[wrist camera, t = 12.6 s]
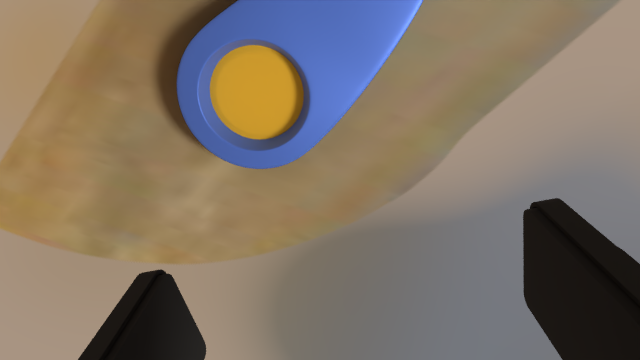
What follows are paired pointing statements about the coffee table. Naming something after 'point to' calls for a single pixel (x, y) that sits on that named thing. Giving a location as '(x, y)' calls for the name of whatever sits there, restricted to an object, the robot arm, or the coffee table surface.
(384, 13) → the location marker
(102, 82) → the coffee table surface
